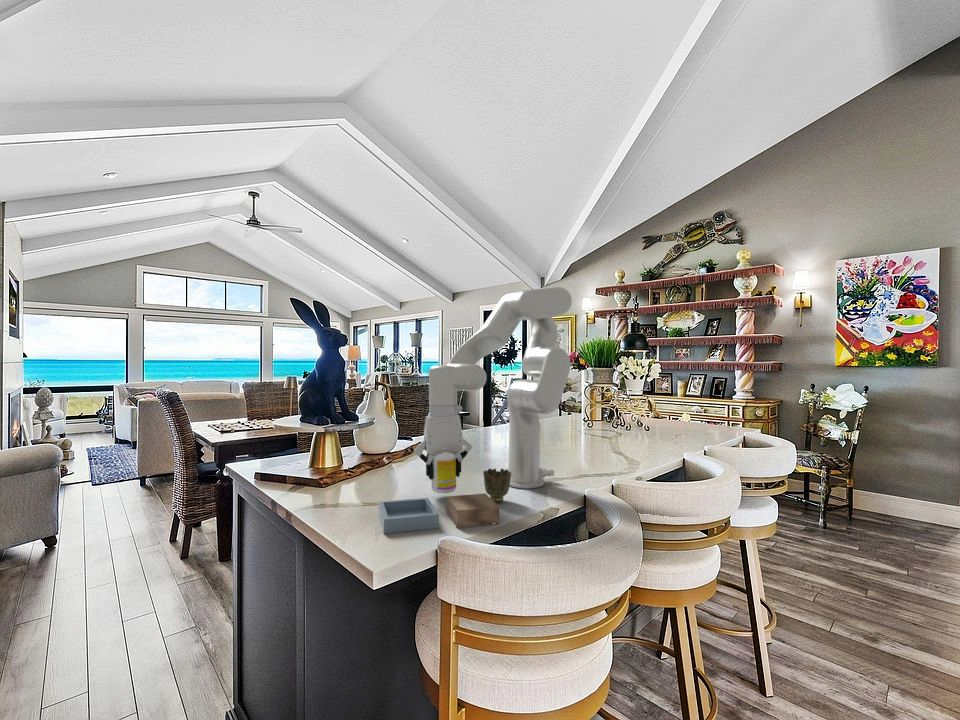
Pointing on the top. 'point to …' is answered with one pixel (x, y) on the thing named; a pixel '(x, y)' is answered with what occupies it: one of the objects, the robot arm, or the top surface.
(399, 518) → the slate ceramic holder
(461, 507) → the walnut riser block
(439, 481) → the supplement bottle
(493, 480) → the cup
